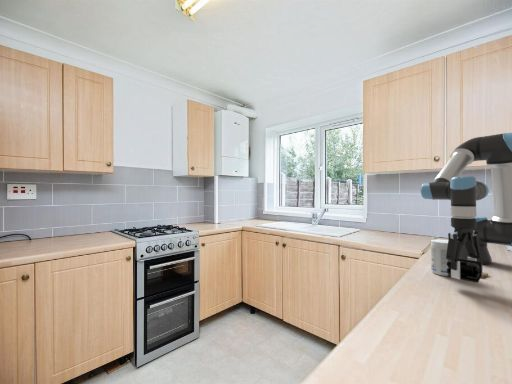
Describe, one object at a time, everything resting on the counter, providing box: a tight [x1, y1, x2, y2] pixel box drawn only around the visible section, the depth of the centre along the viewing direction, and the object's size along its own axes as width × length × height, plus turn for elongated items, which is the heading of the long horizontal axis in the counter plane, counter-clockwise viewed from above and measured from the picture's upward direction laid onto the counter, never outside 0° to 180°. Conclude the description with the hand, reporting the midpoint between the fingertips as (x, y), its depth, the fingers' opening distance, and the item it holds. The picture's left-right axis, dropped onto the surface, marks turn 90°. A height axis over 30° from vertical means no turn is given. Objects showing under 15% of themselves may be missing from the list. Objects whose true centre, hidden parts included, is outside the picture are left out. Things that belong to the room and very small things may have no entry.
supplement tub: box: [430, 238, 448, 277], centre depth 115 cm, size 10×10×15 cm
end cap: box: [446, 259, 484, 284], centre depth 97 cm, size 10×7×7 cm
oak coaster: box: [481, 271, 489, 279], centre depth 113 cm, size 7×7×1 cm
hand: (463, 276), depth 97 cm, fingers closed on end cap, 9 cm apart
